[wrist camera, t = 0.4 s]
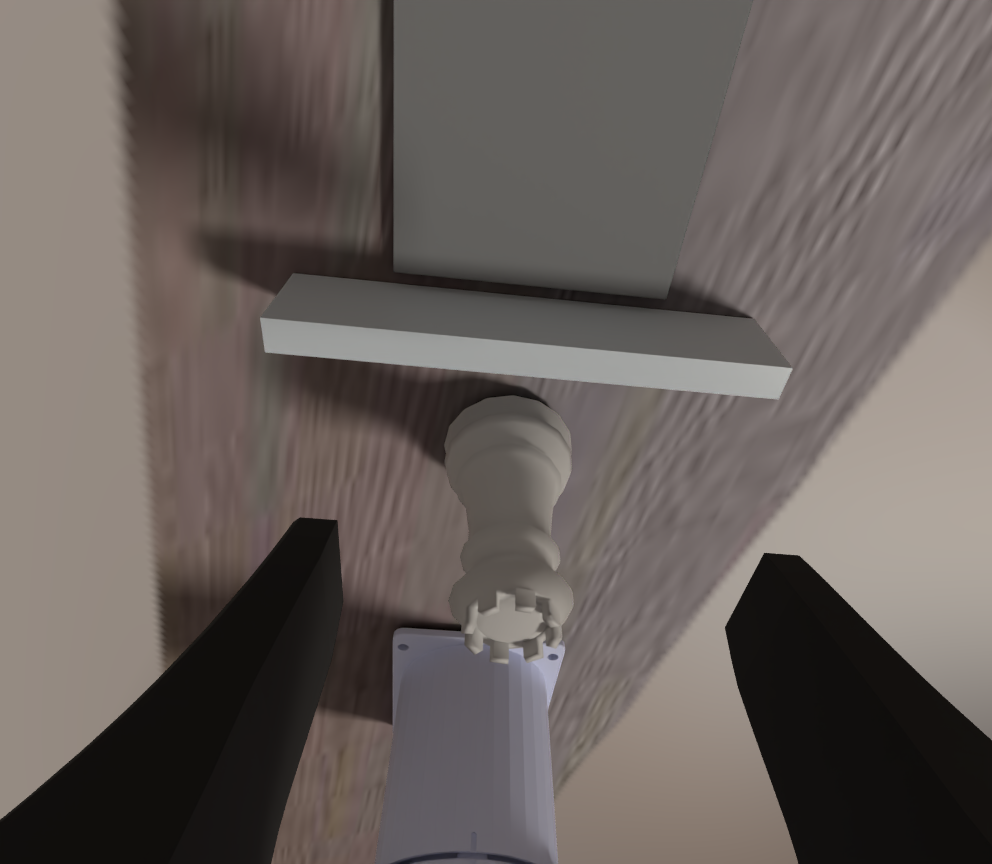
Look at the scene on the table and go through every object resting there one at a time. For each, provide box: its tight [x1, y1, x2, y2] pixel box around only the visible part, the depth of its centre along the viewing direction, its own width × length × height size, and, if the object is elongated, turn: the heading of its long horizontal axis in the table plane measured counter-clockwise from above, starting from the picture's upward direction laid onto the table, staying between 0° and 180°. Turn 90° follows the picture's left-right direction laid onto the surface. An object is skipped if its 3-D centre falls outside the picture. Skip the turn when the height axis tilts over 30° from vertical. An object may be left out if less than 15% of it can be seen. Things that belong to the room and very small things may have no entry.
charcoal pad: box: [393, 0, 753, 299], centre depth 15 cm, size 8×8×1 cm
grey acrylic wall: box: [260, 273, 793, 399], centre depth 17 cm, size 1×14×3 cm, turn 84°
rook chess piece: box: [444, 395, 574, 665], centre depth 18 cm, size 4×4×8 cm
